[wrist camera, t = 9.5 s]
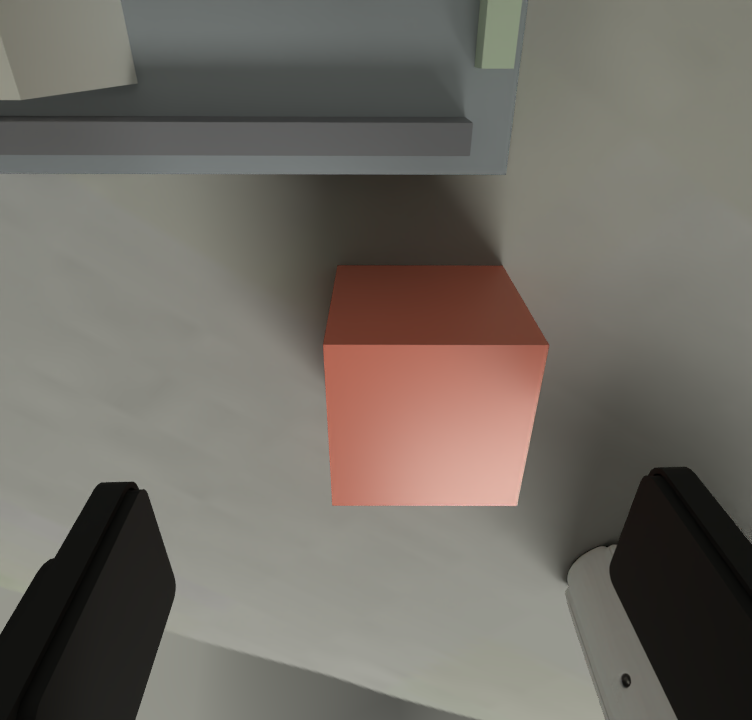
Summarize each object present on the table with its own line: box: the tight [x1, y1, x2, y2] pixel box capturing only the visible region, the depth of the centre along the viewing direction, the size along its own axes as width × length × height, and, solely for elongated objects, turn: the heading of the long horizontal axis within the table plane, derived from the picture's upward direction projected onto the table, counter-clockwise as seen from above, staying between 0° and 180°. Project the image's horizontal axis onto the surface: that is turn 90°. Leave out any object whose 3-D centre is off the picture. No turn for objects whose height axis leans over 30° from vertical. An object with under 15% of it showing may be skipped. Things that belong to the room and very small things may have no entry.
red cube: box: [323, 265, 549, 506], centre depth 15 cm, size 5×5×5 cm
